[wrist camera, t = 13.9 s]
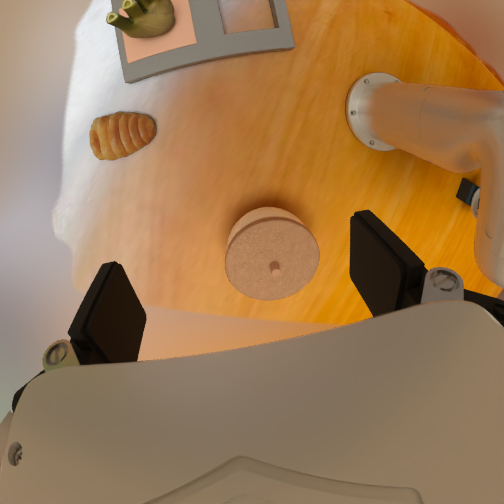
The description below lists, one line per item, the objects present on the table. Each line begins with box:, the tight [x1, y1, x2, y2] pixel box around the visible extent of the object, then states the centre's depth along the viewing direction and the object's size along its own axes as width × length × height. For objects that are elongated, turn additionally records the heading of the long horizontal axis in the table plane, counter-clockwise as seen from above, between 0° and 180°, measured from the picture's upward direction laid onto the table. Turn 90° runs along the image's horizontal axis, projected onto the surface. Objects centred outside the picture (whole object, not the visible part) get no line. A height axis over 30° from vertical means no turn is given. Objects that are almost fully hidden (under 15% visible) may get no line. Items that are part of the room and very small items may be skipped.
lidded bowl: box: [225, 207, 320, 300], centre depth 40 cm, size 13×13×11 cm
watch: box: [456, 178, 481, 219], centre depth 39 cm, size 6×8×11 cm
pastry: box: [89, 112, 156, 160], centre depth 33 cm, size 9×7×4 cm
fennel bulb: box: [106, 0, 175, 38], centre depth 19 cm, size 6×5×12 cm
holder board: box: [111, 0, 295, 83], centre depth 26 cm, size 22×14×3 cm, turn 100°
